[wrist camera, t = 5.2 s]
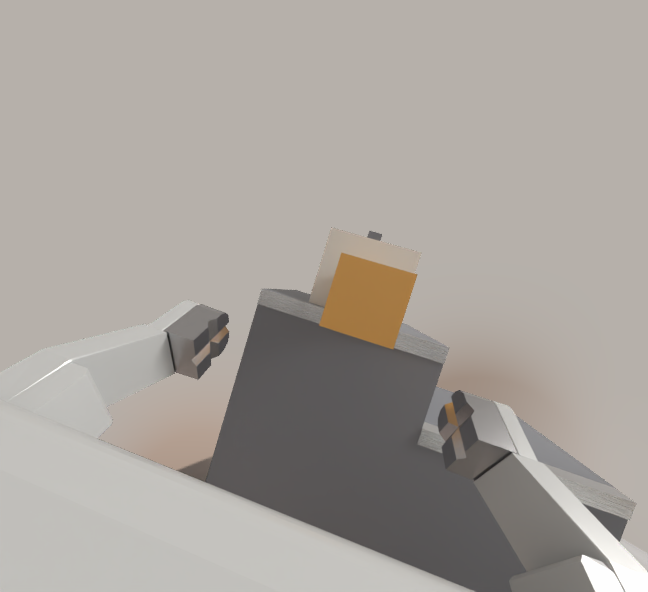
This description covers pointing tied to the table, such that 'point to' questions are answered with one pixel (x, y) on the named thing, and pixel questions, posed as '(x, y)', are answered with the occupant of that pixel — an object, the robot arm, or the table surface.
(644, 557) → the table surface
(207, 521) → the robot arm
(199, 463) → the table surface
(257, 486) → the stand
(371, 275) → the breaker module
